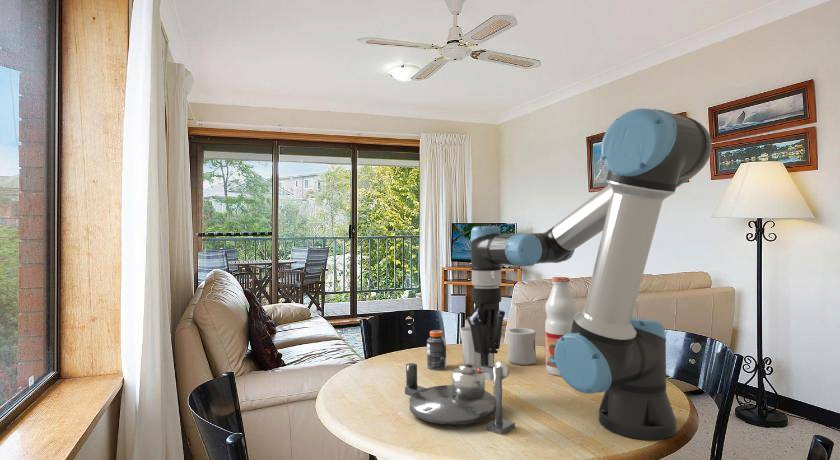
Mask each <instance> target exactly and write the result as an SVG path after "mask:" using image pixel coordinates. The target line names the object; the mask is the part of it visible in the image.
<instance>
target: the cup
mask: <svg viewBox="0 0 840 460" xmlns="http://www.w3.org/2000/svg"><path fill="white" fill-rule="evenodd" d="M459 331H460V339H461V350H462V360H463V364H465V363H471V364H475V365H477V368H481V355H480V353H477V352H475V350H474V344H473V339H472V333H471V327H470V326H464V327H461V328H459Z"/></svg>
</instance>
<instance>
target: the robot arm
mask: <svg viewBox="0 0 840 460" xmlns="http://www.w3.org/2000/svg"><path fill="white" fill-rule="evenodd" d="M712 143H713V142H712V138H711V135H710V133H709V131H708V129H707V128H706V127H705V126H704V125H703V124H702V123H701V122H699V121H698V120H696V119H694V118H691V117H688V116H683V115H679V114H675V113H672V112H668V111H665V110H661V109H657V108H635V109H631V110H629V111H627V112H625V113H623V114H622V115H620V116H619V117H618V118H616V119H615V120H613V122H612V123H610V125H609V127H608V128H607V129H606V131H605V133H604V135H603V138H602V141H601V147H600V148H601V149H600V154H601V158H602V159H603V160H604V165H605V167H606V168H607V169H608V171H607V176H606V180H605V181H606V184H607V186H605V187H604V188H602V189H601V190H599V191H598V192H597V193H596V194H594V195H593V196H592V197H590V198H589V199H588V200H586V201H585V202H584V203H582V204H581V205H580V206H579V207H577V208H576V209H575V210H573V211H572V212H570V213H569V214H568V215H567V216H565V217H564V218H563V219H561V220H559V222H557V223H556V224H555V225H553V226H552V227H551V228H549V229H548V230H546V231H545V232H539V233H538V232H535V233H533V232H532V233H524V232H523V233H521V232H520V233H501V228H500V226H497V225H494V226H493V225H491V226H490V225H489V226H483V225H481V226H473V227H472V229H471V231H470V242H469V243H470V263H471V264H470V265H471V266H470V267H471V268H470V269H471V285H472V286H473V287H471V301H472V302H473V303H474V307H473V308H474V309H473V314H472V315H471V316H467V322H468V324H469V327H471V333H472V339H473V344H474V350H475V352H477V353H480V355H481V366H482V365H487V366H491V367H494V364H495V354H498V352H499V351H498V350H499V349H500V347H501V339H502V330H503V321H504V318H505V315H506V312H505V311H504V310H501V309H500V306H499V303H501V302H502V288H501V287H500V286H501V285H502V265H506V266H516V267H519V268H520V267H532V266H534V265H537V264H538V265H539V264H549V263H550V264H551V263H553V264H554V263H555V264H558V263H562V262H566V261H568V260H569V259H571V258H572V256H573V254H574V253H575V250H576V249H578V247H580V246H582V245H583V244H585V243H586V242H588V241H589V240H591V239H592V238H594V237H596V236H597V235H598V234H600V233H601V238H600V241H599V246H598V251H597V255H596V257H595V262H594V268H593V272H592V275H591V280H590V284H589V288H588V292H587V297H586V301H585V304H584V308H583V309H582V310H580V311H577V313H576V314H575V316H574V319H573V323H572V327H571V332H570V333H567V334H565V335H564V336H562V337H561V338H560V339H559V340H558V341H557V343H556V346H555V350H554V357H555V363H556V366H557V369H558V370H559V371H560V374H561V376H560V377H562V379H563V380H564V382H565V383H566V384H568V386H569V387H571V388H572V389H574V390H575V391H577V392H579V393H583V394H585V395H591V394H596V393H597V394H598V393H604V394H603V397H602V399H601V402H600V405H599V408H598V421H599V425H601V426H602V427H603V428H604V429H606V430H608V431H610V432H612V433H615V434H618V435H621V436H624V437H628V438H631V439H639V440H647V441H648V440H655V441H656V440H665V439H668V438H672V437H673V436H675V435H676V433H677V419H676V415H675V413H674V411H673V410H674V409H673V407H672V404H671V402H670V399H669V397H668V394H667V355H666V354H667V349H666V347H667V345H666V343H667V337H666V332H665V330H666V328H665V326H664V324H663V323H662V322H661V321H658V320H656V319H655V320H654V319H651V318H650V319H649V318H644V317H643V318H641V317H636V316H633V314H634V313H633V312H634V309H635V306H636V302H637V298H638V295H639V291H640V287H641V283H642V280H643V276H644V272H645V268H646V265H647V261H648V258H649V254H650V250H651V246H652V242H653V238H654V234H655V232H656V227H657V224H658V220H659V216H660V213H661V210H662V205H663V202H664V201H665V199H667V198H668V197H670V196H672V195H674V194H676V189H677V188H678V187H680V186H682V185H684V183H686V182H687V181H689V180H691V179H692V178H693V177H695V176H696V175H697V174H699V172H701V171H702V169H703V168H704V167H705V165H706V164H707V163H708V162H709V159H710V157H711V154H712V148H713V146H712ZM485 381H489V382H490V381H493V374H489V373H485Z"/></svg>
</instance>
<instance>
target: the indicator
mask: <svg viewBox="0 0 840 460" xmlns="http://www.w3.org/2000/svg"><path fill="white" fill-rule="evenodd" d="M482 372H485V373H489V374H493V380H492V381H493V396H494V414H493V420H492V421H490V422H487V423H486V424H485V430H487V431H488V432H489V431H490V432H492V433H495V434H497V435H498V434H499V435H500V436H502V435H504V434H506V433H507V432H509V431H511V430H513V429H514V428H515V427H516V422H514V421H512V420H511V421H510V420H508V419H504V417H503V380H504V379H507V378H508V377H509V374H510V368H509V366H508V365H507V363H506V362H504V361H498V362H494V367H491V366H487V365H482V366H481V368H478V369H477V373H478V374H481V373H482Z"/></svg>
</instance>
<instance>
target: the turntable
mask: <svg viewBox="0 0 840 460" xmlns="http://www.w3.org/2000/svg"><path fill="white" fill-rule="evenodd" d="M405 377H406V378H405V379H406V380H405V381H406V382H405V384H406V386H404V395H406V396H408V397H409V396H410V397H409V411H410V412H411V414H412V415H413V416H414V417H417V419H420V420H423V421H426V422H430V423H434V424H441V425H467V424H473V423H477V422H482V421H483V420H487V419H488V418H490V417H492V416H494V394H492V393H490V392H488V391H486V390H485V395H483V396H482V397H479V398H460V397H457V396H454V395H453V394H452V384H448V385H447V384H445V385H435V386H430V387H423V386H420V385H418V363H414V362H413V363H412V362H411V363H407V364H405Z"/></svg>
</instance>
